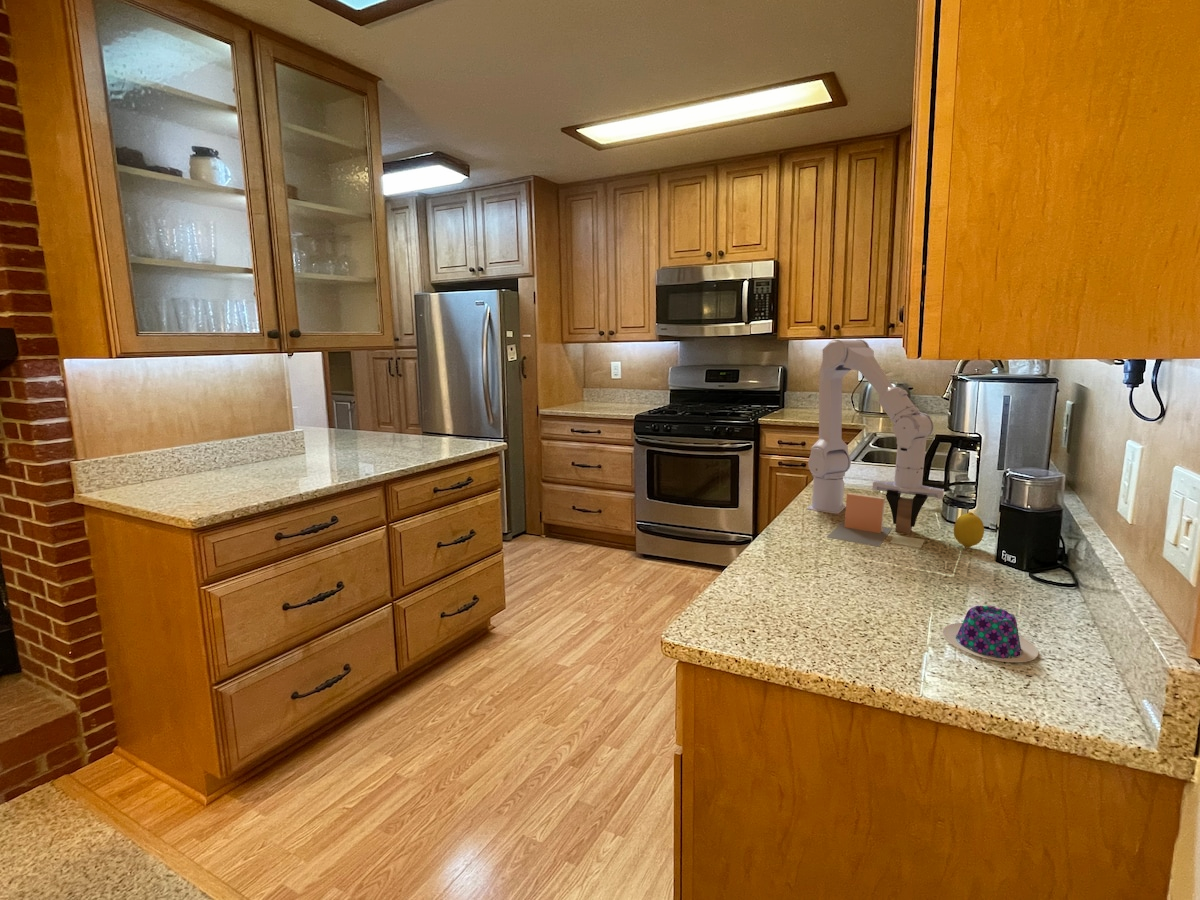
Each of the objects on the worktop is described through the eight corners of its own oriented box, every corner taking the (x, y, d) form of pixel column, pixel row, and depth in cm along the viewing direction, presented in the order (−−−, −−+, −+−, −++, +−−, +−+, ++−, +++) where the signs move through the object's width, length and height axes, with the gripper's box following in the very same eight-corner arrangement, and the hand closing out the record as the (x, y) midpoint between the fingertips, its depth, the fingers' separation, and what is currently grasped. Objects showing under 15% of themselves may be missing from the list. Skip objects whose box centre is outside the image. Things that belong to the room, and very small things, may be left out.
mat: (843, 521, 151) (843, 520, 151) (892, 529, 145) (892, 528, 145) (826, 538, 138) (826, 537, 138) (878, 548, 132) (879, 546, 132)
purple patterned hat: (925, 628, 96) (928, 596, 95) (999, 626, 97) (1003, 595, 96) (975, 668, 85) (980, 633, 84) (1059, 666, 85) (1064, 631, 84)
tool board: (894, 537, 139) (894, 534, 139) (924, 542, 136) (924, 539, 136) (889, 544, 134) (890, 542, 134) (920, 549, 131) (920, 547, 131)
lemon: (973, 544, 135) (977, 509, 133) (986, 553, 129) (991, 516, 128) (947, 543, 135) (951, 508, 134) (959, 552, 130) (963, 515, 128)
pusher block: (897, 529, 145) (900, 496, 143) (911, 532, 143) (914, 498, 142) (895, 533, 142) (898, 499, 141) (909, 535, 141) (912, 501, 139)
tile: (845, 525, 147) (848, 492, 145) (882, 531, 142) (885, 497, 141) (844, 527, 145) (846, 494, 144) (880, 533, 141) (883, 499, 140)
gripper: (871, 465, 141) (866, 523, 143) (943, 473, 133) (937, 534, 135) (877, 460, 147) (873, 516, 149) (947, 468, 138) (941, 526, 141)
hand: (904, 524), depth 142 cm, fingers closed on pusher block, 3 cm apart
